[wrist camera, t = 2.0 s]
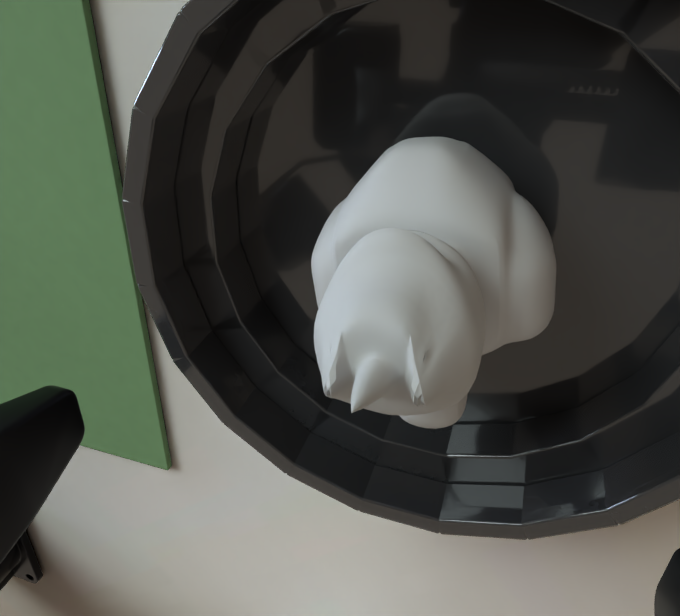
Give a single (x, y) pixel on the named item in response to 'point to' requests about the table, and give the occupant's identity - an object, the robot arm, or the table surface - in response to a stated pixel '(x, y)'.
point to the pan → (341, 177)
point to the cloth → (69, 236)
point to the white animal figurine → (426, 280)
